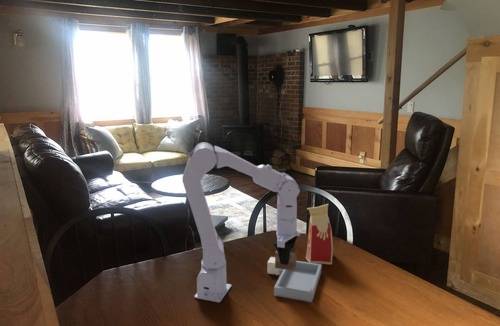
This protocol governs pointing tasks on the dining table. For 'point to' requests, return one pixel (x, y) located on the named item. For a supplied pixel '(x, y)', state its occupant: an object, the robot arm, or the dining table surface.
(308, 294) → the tote
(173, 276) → the dining table surface
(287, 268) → the walnut block
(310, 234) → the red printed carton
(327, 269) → the dining table surface
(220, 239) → the robot arm
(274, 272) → the cream box
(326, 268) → the dining table surface
